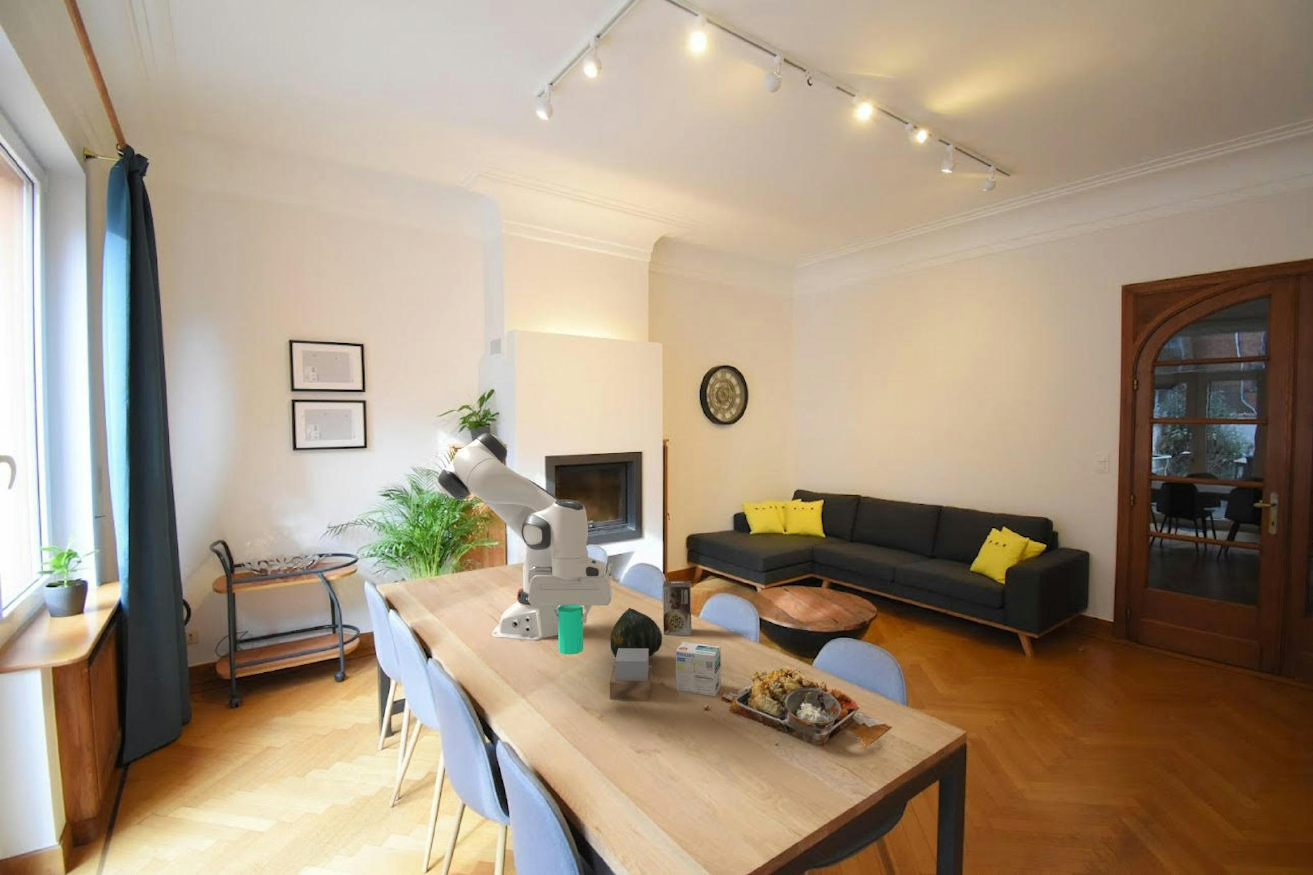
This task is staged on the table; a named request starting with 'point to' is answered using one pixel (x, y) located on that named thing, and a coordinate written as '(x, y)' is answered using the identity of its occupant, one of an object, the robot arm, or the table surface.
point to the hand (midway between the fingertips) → (570, 622)
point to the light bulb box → (698, 668)
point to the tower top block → (632, 664)
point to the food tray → (802, 707)
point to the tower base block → (631, 688)
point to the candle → (570, 629)
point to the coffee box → (677, 608)
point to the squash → (635, 633)
